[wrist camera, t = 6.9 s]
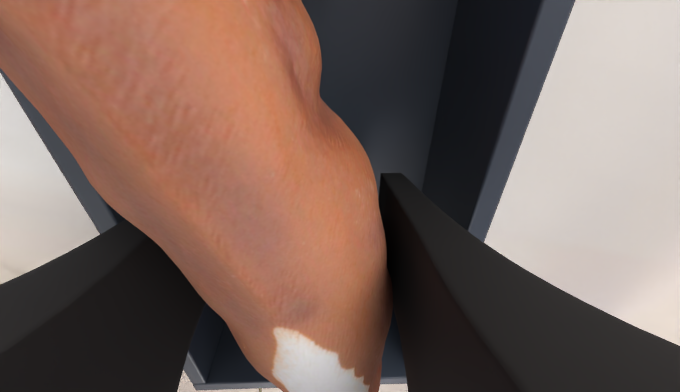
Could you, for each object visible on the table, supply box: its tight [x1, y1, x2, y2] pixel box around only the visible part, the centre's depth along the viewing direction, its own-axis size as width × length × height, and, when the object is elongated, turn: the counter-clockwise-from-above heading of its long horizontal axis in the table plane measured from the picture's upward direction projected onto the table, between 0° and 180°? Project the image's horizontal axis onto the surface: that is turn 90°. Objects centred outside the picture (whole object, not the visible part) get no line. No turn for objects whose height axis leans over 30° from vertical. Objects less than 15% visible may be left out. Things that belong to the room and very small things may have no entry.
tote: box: [0, 0, 575, 390], centre depth 10 cm, size 18×10×4 cm, turn 0°
